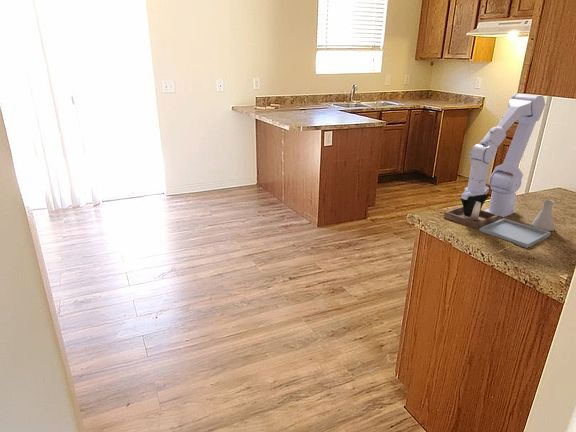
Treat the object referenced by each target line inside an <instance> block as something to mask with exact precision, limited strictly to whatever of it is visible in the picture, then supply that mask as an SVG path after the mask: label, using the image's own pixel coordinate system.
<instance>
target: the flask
mask: <svg viewBox="0 0 576 432" xmlns="http://www.w3.org/2000/svg"><path fill="white" fill-rule="evenodd" d="M554 204H555V201H554V200H551V199H544V200H543V206H542V208H541V210H540V211H539V213H538V214H537V215H536V217H535V218H534V220H533V221H532V223H531V226H532V227H535V228H538V229H541V230H545V231H548V232H554V231H555V228H554V220H553V213H552V212H553V205H554Z"/></svg>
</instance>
